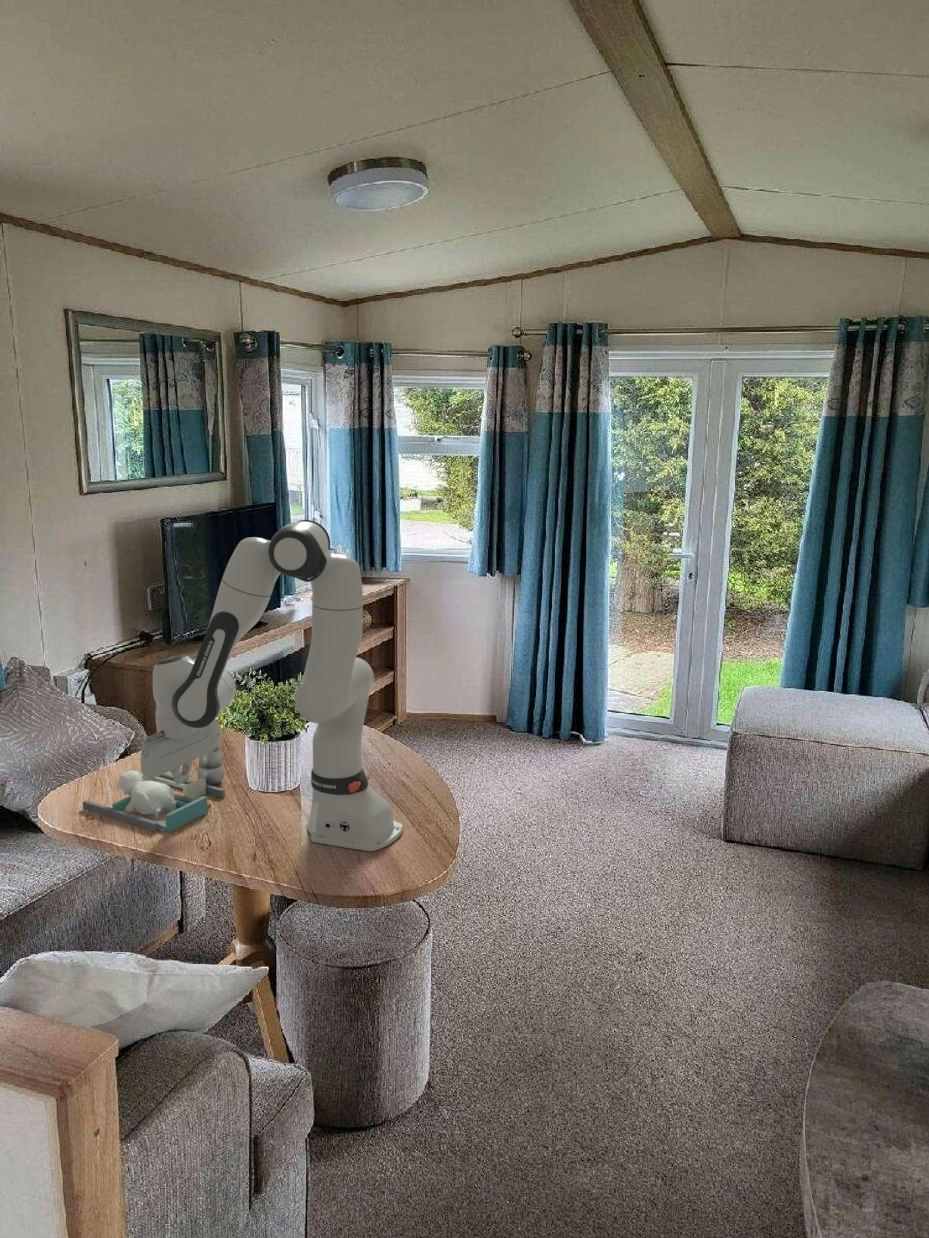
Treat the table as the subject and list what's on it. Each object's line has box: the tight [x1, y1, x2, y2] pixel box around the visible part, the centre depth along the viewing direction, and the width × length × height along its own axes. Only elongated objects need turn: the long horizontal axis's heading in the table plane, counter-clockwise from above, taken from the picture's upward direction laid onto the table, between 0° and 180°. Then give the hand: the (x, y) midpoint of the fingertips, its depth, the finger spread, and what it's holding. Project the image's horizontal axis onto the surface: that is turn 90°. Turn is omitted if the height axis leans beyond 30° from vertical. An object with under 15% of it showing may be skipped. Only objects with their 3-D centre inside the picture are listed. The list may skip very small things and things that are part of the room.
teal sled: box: [111, 795, 209, 833], centre depth 206 cm, size 19×12×4 cm, turn 62°
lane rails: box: [82, 772, 226, 833], centre depth 213 cm, size 24×22×2 cm
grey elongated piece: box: [139, 773, 207, 799], centre depth 219 cm, size 19×6×4 cm, turn 62°
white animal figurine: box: [118, 770, 177, 821], centre depth 209 cm, size 9×8×15 cm
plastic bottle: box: [197, 718, 225, 786], centre depth 223 cm, size 6×7×20 cm
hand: (182, 781), depth 201 cm, fingers closed
